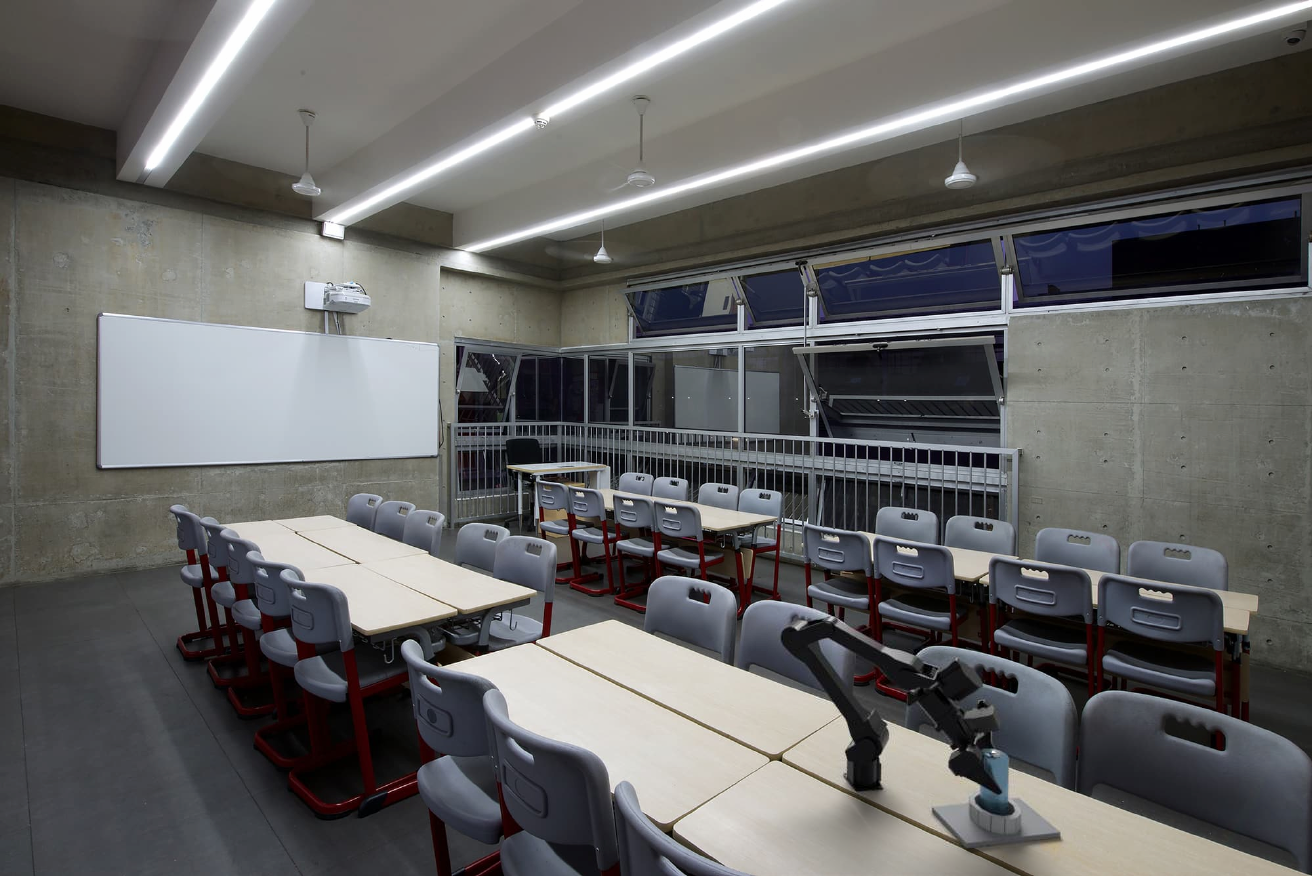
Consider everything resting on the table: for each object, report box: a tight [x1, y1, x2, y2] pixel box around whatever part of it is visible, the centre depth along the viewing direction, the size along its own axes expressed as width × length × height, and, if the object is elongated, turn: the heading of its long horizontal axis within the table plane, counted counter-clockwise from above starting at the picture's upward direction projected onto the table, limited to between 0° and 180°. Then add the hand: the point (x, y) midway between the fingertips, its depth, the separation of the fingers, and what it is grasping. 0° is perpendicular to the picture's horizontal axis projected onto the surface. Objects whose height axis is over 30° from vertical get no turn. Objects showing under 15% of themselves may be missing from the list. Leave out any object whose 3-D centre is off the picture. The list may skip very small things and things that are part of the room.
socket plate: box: [931, 790, 1061, 849], centre depth 124 cm, size 20×11×4 cm, turn 99°
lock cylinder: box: [979, 748, 1010, 816], centre depth 124 cm, size 5×5×14 cm
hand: (1002, 782), depth 123 cm, fingers open, 9 cm apart
